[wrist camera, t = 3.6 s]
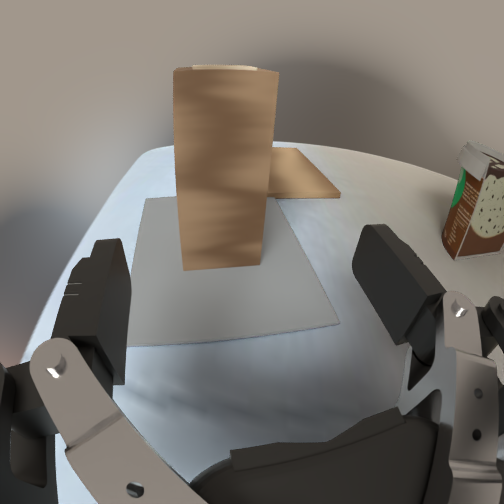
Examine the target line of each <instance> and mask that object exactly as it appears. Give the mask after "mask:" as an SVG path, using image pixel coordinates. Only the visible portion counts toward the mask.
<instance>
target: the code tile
mask: <svg viewBox="0 0 504 504" xmlns="http://www.w3.org/2000/svg"><path fill="white" fill-rule="evenodd" d="M130 278H131V286H132V296H131V305H130V314H129V324H128V335H127V347H133V346H157V345H175V344H189V343H201V342H213V341H223V340H233V339H242V338H251V337H259V336H267V335H274V334H281V333H288V332H295V331H301V330H308V329H314V328H320V327H326V326H331V325H337V324H340V321H339V319H338V317H337V315H336V313H335V311H334V309H333V307H332V305H331V303H330V301H329V299H328V297H327V295H326V293H325V291H324V289H323V287H322V285H321V283H320V281H319V279H318V277H317V276H316V274H315V272H314V270H313V268H312V266H311V264H310V262H309V260H308V258H307V256H306V254H305V253H304V251H303V249H302V247H301V245H300V243H299V241H298V239H297V238H296V236H295V234H294V232H293V230H292V228H291V226H290V225H289V223H288V221H287V219H286V217H285V215H284V214H283V212H282V210H281V208H280V206H279V205H278V203H277V201H276V199H275V197H267V202H266V212H265V221H264V231H263V240H262V250H261V259H260V265H256V266H243V267H230V268H217V269H203V270H189V271H183V263H182V254H181V243H180V232H179V220H178V207H177V196H175V197H161V198H148V199H146V200H145V204H144V209H143V213H142V218H141V222H140V227H139V232H138V237H137V242H136V247H135V253H134V258H133V264H132V270H131V276H130Z"/></svg>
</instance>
